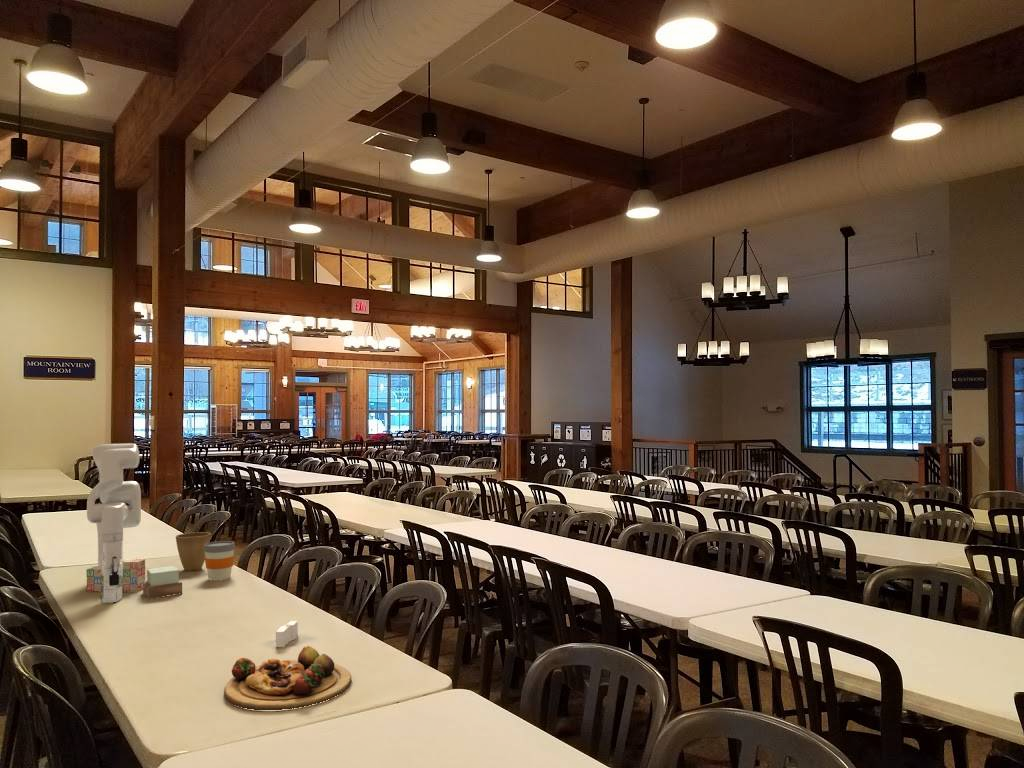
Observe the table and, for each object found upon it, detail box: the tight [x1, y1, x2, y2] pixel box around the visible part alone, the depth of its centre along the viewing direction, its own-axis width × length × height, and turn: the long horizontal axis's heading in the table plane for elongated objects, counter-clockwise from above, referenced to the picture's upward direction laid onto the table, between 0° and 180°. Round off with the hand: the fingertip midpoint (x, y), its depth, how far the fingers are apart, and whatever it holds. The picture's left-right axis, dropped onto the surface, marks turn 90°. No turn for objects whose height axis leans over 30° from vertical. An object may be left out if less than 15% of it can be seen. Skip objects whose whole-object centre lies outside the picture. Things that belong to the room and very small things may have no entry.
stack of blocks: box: [86, 558, 146, 592], centre depth 305 cm, size 21×6×12 cm, turn 88°
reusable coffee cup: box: [204, 540, 236, 581], centre depth 324 cm, size 13×13×15 cm
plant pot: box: [175, 531, 211, 572], centre depth 343 cm, size 15×15×16 cm
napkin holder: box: [275, 620, 299, 648], centre depth 234 cm, size 15×11×6 cm
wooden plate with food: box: [223, 645, 352, 710], centre depth 195 cm, size 32×32×8 cm
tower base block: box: [142, 580, 183, 600], centre depth 298 cm, size 12×12×5 cm
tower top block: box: [146, 565, 180, 586], centre depth 298 cm, size 10×10×5 cm
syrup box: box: [100, 562, 124, 604], centre depth 287 cm, size 6×6×14 cm
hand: (112, 583), depth 287 cm, fingers open, 7 cm apart
